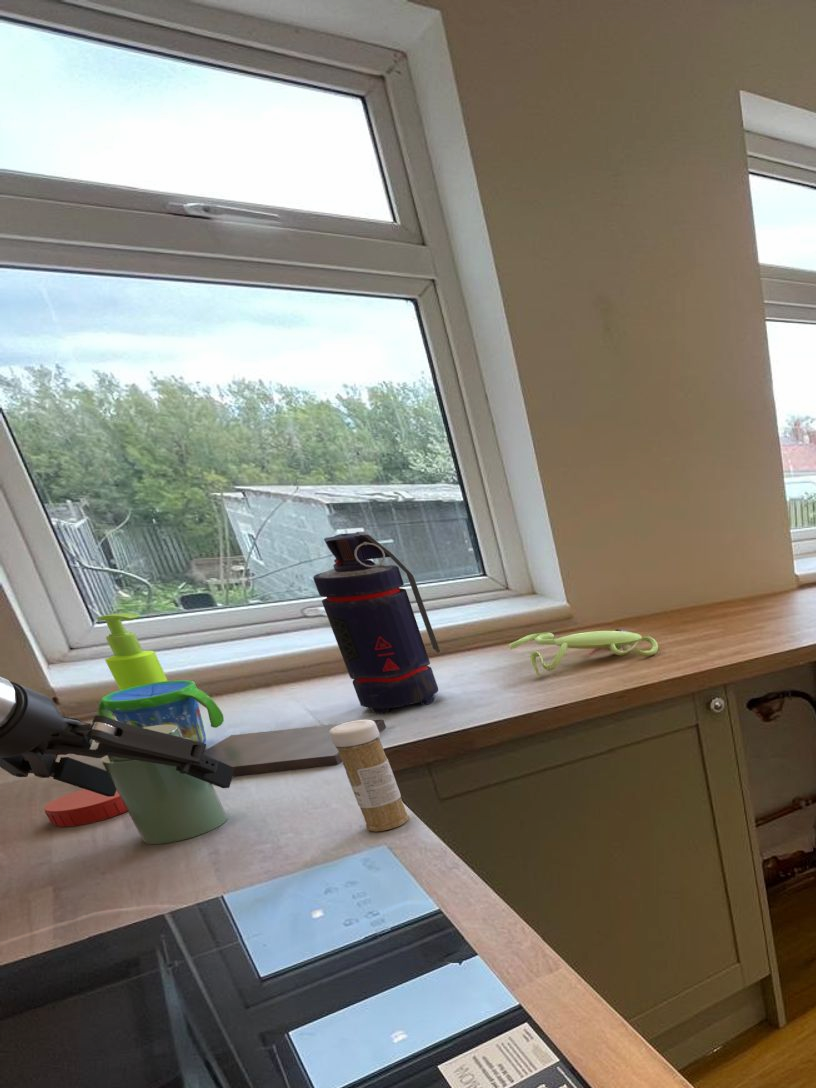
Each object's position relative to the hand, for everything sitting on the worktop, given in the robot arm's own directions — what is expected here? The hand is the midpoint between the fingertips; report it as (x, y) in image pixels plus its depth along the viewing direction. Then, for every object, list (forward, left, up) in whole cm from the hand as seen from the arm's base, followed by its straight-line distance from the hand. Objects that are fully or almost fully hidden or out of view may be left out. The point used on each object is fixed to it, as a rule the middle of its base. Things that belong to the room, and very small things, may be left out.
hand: (172, 782), depth 102 cm
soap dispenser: (-30, +46, -6) cm, 55 cm away
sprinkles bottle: (+26, -8, -6) cm, 28 cm away
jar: (0, -1, -6) cm, 6 cm away
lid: (-16, +9, -4) cm, 19 cm away
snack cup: (-21, +33, -6) cm, 40 cm away
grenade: (+7, +47, -6) cm, 48 cm away
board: (-2, +25, -6) cm, 26 cm away
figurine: (+33, +66, -6) cm, 74 cm away
